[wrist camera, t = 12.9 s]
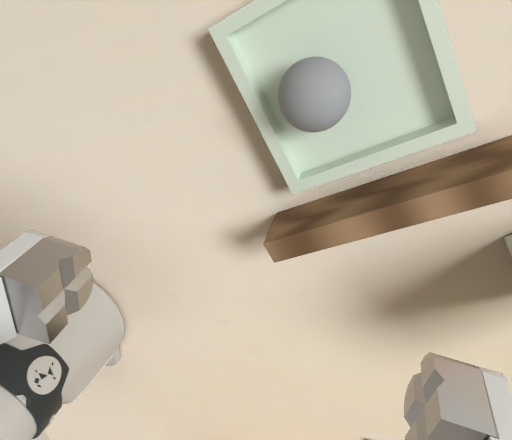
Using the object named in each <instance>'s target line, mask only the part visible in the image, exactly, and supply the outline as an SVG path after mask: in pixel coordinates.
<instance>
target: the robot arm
mask: <svg viewBox="0 0 512 440" xmlns="http://www.w3.org/2000/svg"><path fill="white" fill-rule="evenodd" d="M91 261H92V260H91V253H90V250H89V249H87V248H85V247H82V246H79V245H76V244H73V243H70V242H67V241H64V240H61V239H58V238H55V237H52V236H48V235H45V234H42V233H39V232H36V231H33V230H32V231H27V232H25V233H23V234H22V235H21V236H19V237H18V238H16V239H15V240H14V241H12V242H11V243H10V244H8V245H7V246H6V247H4V248H3V249H2V250H0V440H31V439H34V438H37V437H38V436H39V435H40V434H41V433H42V431H43V430H44V429H45V428H46V427H48V425H49V424H50V423H51V422H52V420H53V419H54V416H55V415H56V413H57V412H58V411H59V409H60V408H61V406H62V404H67V403H70V402H71V403H73V402H74V401H76V400H77V399H78V398H79V397H80V395H81V394H82V393H83V392H84V391H85V389H86V388H87V387H88V386H89V385H90V383H91V382H92V381H93V380H94V379H95V377H96V376H97V375H98V374H99V373H100V371H101V370H102V369H103V368H104V366H113V365H115V364H116V363H117V362H118V361H119V359H120V350H119V345H120V343H121V341H122V339H123V336H124V322H123V318H122V316H121V313H120V311H119V310H118V308H117V306H116V305H115V303H114V302H113V301H112V299H111V298H110V297H109V296H108V295H107V294H106V293H105V292H104V291H103V290H102V289H101V288H100V287H99V286H98V285H96V284H95V283H94V281H93V274H92V273H91V271H90V270H89V269H88V267H87V265H88V264H89V263H90V262H91ZM404 418H405V419H406V421H407V422H408V424H409V426H410V427H411V428H410V430H409V431H408V433H407V434H406V436H405V440H512V395H511V391H510V388H509V385H508V381H507V378H506V377H505V376H504V375H503V374H502V373H498V372H495V371H492V370H488V369H485V368H481V367H476V366H474V365H471V364H468V363H464V362H461V361H458V360H454V359H451V358H447V357H444V356H441V355H437V354H434V353H430V352H429V353H428V354H427V355H425V357H424V358H423V360H422V362H421V373H418V374H416V375H413V377H412V379H411V381H410V383H409V384H408V387H407V391H406V395H405V402H404Z"/></svg>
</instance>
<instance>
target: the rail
mask: <svg viewBox="0 0 512 440" xmlns="http://www.w3.org/2000/svg"><path fill="white" fill-rule="evenodd" d="M509 199H512V136H509V137H506V138H503V139H500V140H497V141H494V142H491V143H488V144H485V145H482V146H479V147H476V148H473V149H470V150H467V151H464V152H461V153H458V154H455V155H452V156H449V157H446V158H443V159H439V160H436V161H433V162H430V163H427V164H424V165H421V166H418V167H415V168H412V169H409V170H406V171H403V172H400V173H397V174H394V175H391V176H388V177H385V178H382V179H379V180H376V181H373V182H370V183H367V184H364V185H361V186H358V187H355V188H352V189H349V190H346V191H343V192H339V193H336V194H333V195H330V196H327V197H324V198H321V199H318V200H315V201H312V202H309V203H306V204H303V205H300V206H297V207H294V208H291V209H288V210H285V211H282V212H279V213H277V214H276V216H275V219H274V221H273V223H272V225H271V228H270V230H269V232H268V234H267V237H266V239H265V241H264V243H263V244H264V246H265V247H266V249H267V251H268V253H269V254H270V256H271V258H272V260H273V261H274V263H275V262H279V261H282V260H286V259H290V258H293V257H297V256H301V255H305V254H308V253H312V252H316V251H319V250H323V249H327V248H331V247H334V246H338V245H342V244H345V243H349V242H353V241H357V240H360V239H364V238H368V237H371V236H375V235H379V234H383V233H386V232H390V231H394V230H397V229H401V228H405V227H409V226H412V225H416V224H420V223H423V222H427V221H431V220H435V219H438V218H442V217H446V216H449V215H453V214H457V213H461V212H464V211H468V210H472V209H475V208H479V207H483V206H487V205H490V204H494V203H498V202H501V201H505V200H509Z"/></svg>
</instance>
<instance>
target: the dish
mask: <svg viewBox="0 0 512 440" xmlns="http://www.w3.org/2000/svg"><path fill="white" fill-rule="evenodd" d="M208 30H209V32H210V34H211V36H212V38H213V40H214V42H215V44H216V46H217V48H218V50H219V52H220V54H221V56H222V58H223V60H224V62H225V64H226V66H227V68H228V70H229V71H230V73H231V75H232V77H233V79H234V81H235V83H236V85H237V87H238V89H239V91H240V93H241V95H242V97H243V99H244V101H245V103H246V105H247V107H248V109H249V111H250V113H251V115H252V116H253V118H254V120H255V122H256V124H257V126H258V128H259V130H260V132H261V134H262V136H263V138H264V140H265V142H266V144H267V146H268V148H269V150H270V152H271V154H272V156H273V158H274V159H275V161H276V163H277V165H278V167H279V169H280V171H281V173H282V175H283V177H284V179H285V181H286V183H287V185H288V187H289V189H290V191H291V193H292V195H294V194H297V193H300V192H302V191H305V190H308V189H311V188H314V187H317V186H320V185H323V184H326V183H329V182H331V181H334V180H337V179H340V178H343V177H346V176H349V175H352V174H355V173H357V172H360V171H363V170H366V169H369V168H372V167H375V166H378V165H381V164H383V163H386V162H389V161H392V160H395V159H398V158H401V157H404V156H407V155H409V154H412V153H415V152H418V151H421V150H424V149H427V148H430V147H433V146H435V145H438V144H441V143H444V142H447V141H450V140H453V139H456V138H459V137H462V136H464V135H467V134H470V133H473V132H476V131H477V128H476V125H475V122H474V118H473V115H472V111H471V108H470V105H469V101H468V98H467V95H466V91H465V88H464V85H463V81H462V78H461V75H460V71H459V68H458V65H457V61H456V58H455V54H454V51H453V48H452V44H451V41H450V38H449V34H448V31H447V28H446V24H445V21H444V18H443V14H442V11H441V7H440V4H439V1H438V0H254V1H252V2H251V3H249V4H247V5H246V6H244V7H243V8H241V9H239V10H238V11H236V12H234V13H233V14H231V15H229V16H228V17H226V18H225V19H223V20H221V21H220V22H218V23H216V24H215V25H213V26H212V27H210V28H208ZM308 57H324V58H327V59H330V60H332V61H334V62H335V63H337V64H338V65H339V66H340V67H341V68H342V69H343V70H344V71H345V73H346V75H347V76H348V79H349V82H350V86H351V100H350V104H349V107H348V110H347V112H346V113H345V115H344V116H343V118H342V119H341V120H340V121H339V122H338V123H337V124H336V125H334V126H333V127H331V128H329V129H327V130H325V131H321V132H305V131H301V130H299V129H297V128H295V127H294V126H292V125H291V124H290V123H289V122H288V121H287V120H286V119H285V118H284V116H283V115H282V113H281V110H280V107H279V104H278V88H279V84H280V82H281V79H282V77H283V76H284V74H285V72H286V71H287V70H288V69H289V68H290V67H291V66H292V65H293V64H295V63H296V62H298V61H299V60H302V59H304V58H308Z"/></svg>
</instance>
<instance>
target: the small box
mask: <svg viewBox="0 0 512 440" xmlns="http://www.w3.org/2000/svg"><path fill="white" fill-rule="evenodd" d="M504 240H505V242H506V245H507V247H508V250H509V252H510V254H511V257H512V234H511V235H508V236H506V237H504Z"/></svg>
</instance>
